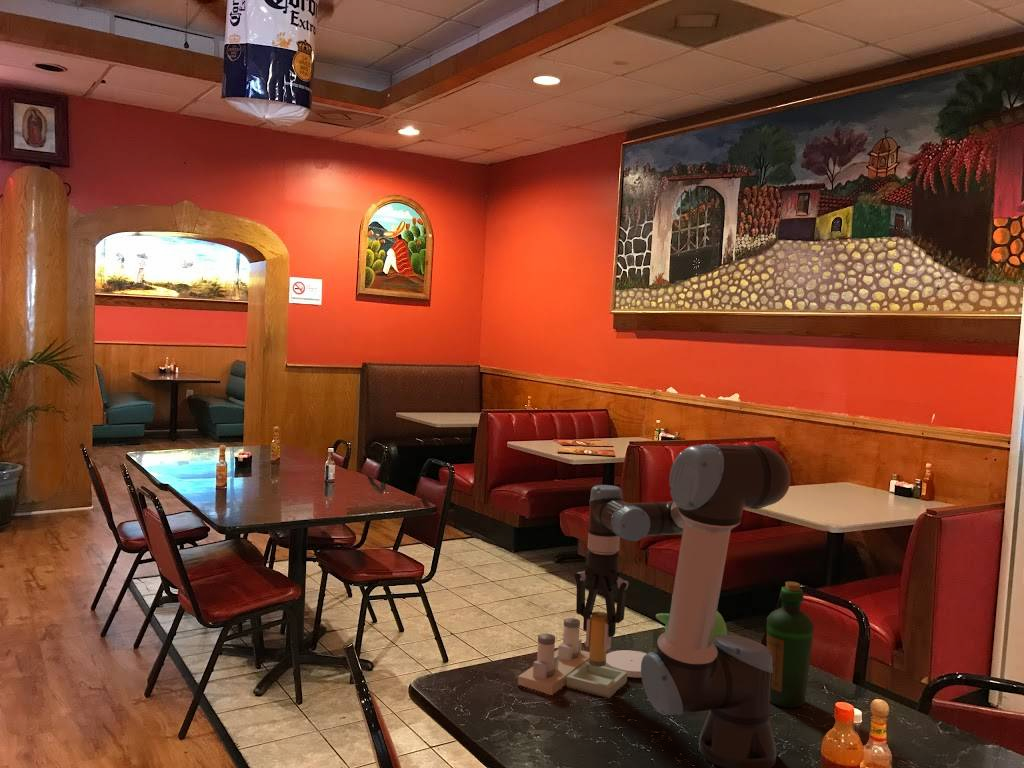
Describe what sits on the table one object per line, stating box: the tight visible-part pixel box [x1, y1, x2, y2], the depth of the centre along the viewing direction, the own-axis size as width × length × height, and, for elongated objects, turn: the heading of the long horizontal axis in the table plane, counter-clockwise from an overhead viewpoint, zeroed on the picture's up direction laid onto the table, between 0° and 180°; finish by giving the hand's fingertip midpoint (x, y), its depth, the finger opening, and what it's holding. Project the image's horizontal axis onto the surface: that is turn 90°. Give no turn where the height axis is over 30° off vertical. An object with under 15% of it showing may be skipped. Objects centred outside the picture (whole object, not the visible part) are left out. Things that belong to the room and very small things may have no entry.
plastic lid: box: [604, 649, 647, 679], centre depth 213 cm, size 14×14×2 cm
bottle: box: [766, 581, 815, 709], centre depth 196 cm, size 11×11×28 cm
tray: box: [565, 662, 628, 699], centre depth 202 cm, size 11×11×2 cm
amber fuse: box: [589, 611, 608, 667], centre depth 202 cm, size 4×4×12 cm
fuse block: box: [517, 617, 590, 696], centre depth 207 cm, size 24×9×12 cm, turn 150°
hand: (598, 646), depth 202 cm, fingers closed on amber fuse, 4 cm apart
